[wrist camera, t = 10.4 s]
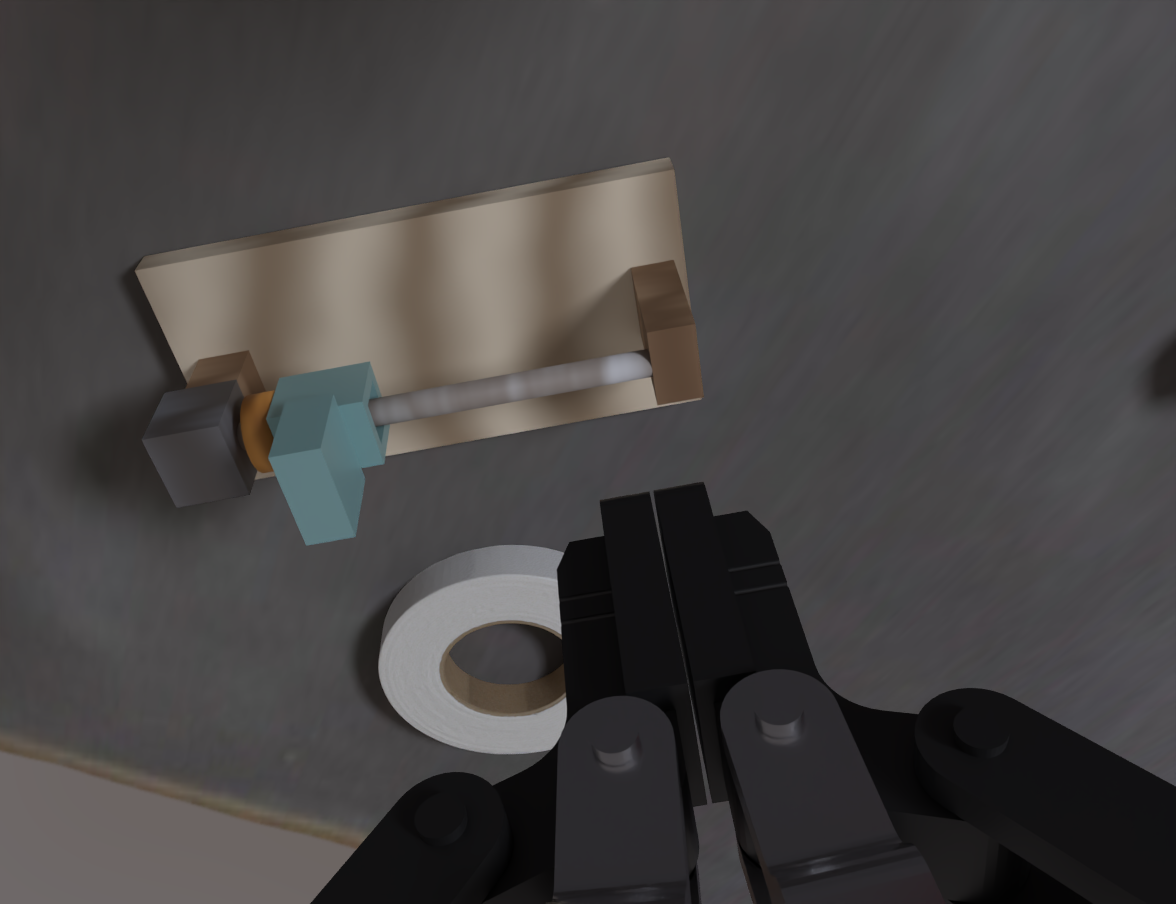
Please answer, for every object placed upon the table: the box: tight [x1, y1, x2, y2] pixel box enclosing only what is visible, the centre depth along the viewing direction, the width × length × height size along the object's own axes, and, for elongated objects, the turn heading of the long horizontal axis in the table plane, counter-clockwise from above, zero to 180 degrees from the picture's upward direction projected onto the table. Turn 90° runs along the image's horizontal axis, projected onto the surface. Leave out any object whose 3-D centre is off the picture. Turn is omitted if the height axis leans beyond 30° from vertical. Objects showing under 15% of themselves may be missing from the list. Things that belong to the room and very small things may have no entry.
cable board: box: [135, 157, 704, 508], centre depth 46 cm, size 24×12×9 cm, turn 99°
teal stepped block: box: [266, 361, 390, 546], centre depth 42 cm, size 4×4×7 cm
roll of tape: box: [378, 545, 567, 754], centre depth 61 cm, size 16×15×3 cm
